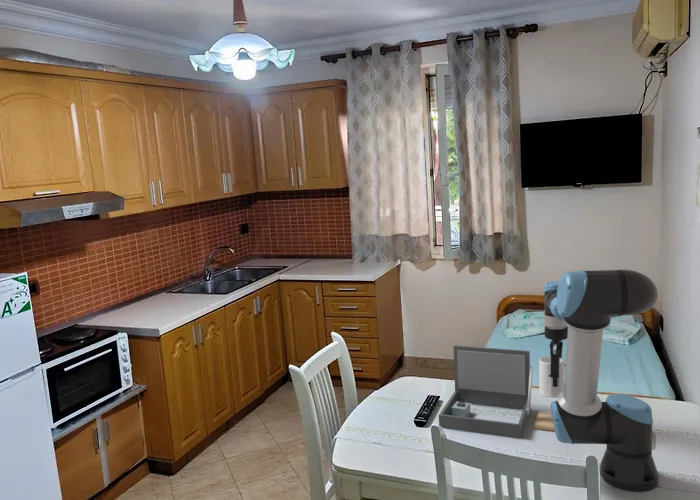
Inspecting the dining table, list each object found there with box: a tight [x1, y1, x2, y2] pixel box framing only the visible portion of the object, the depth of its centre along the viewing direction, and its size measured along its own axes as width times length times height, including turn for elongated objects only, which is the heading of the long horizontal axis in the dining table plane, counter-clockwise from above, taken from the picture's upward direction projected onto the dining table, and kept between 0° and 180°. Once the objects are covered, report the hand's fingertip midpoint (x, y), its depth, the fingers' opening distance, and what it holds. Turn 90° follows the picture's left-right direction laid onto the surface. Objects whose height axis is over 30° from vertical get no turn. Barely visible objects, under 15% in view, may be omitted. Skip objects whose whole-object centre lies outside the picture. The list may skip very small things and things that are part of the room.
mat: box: [533, 411, 555, 433], centre depth 203 cm, size 14×14×1 cm
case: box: [438, 344, 534, 439], centre depth 208 cm, size 24×29×22 cm
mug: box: [538, 355, 566, 399], centre depth 201 cm, size 12×8×12 cm
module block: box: [451, 401, 471, 418], centre depth 213 cm, size 6×5×5 cm
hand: (556, 390), depth 201 cm, fingers closed on mug, 8 cm apart
